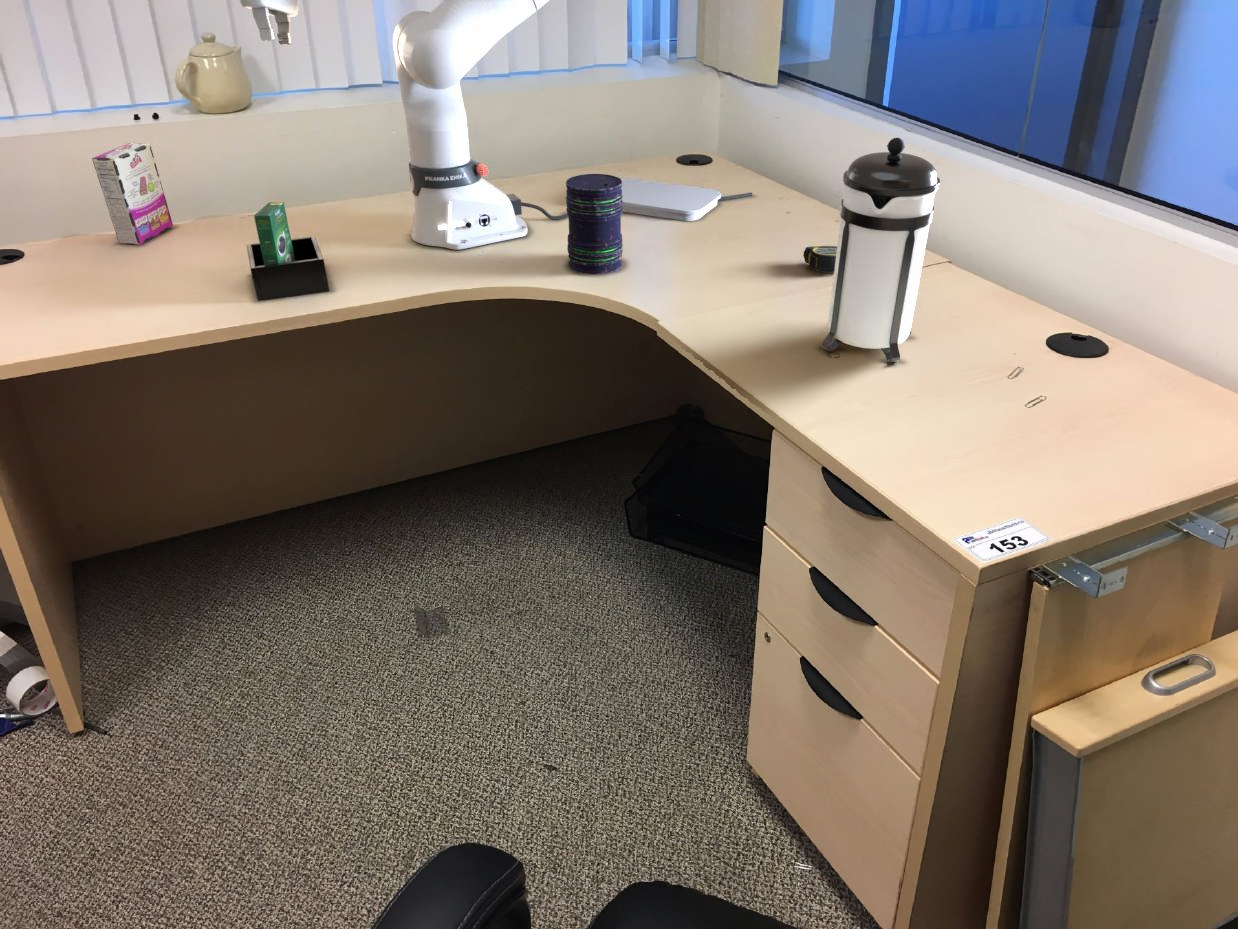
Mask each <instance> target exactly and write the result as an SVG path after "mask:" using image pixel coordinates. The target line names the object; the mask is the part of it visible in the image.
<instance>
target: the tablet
mask: <svg viewBox="0 0 1238 929" xmlns="http://www.w3.org/2000/svg"><path fill="white" fill-rule="evenodd" d="M619 178H620V179H621V180H622V187H621V189H622V196H623V203H622V208H623V210H622V213H630V214H636V215H643V216H651V217H654V218H655V217H656V218H663V219H669V220H670V219H671V220H677V221H684V222H693V221H694V222H695V221H697V220H700V219H701V218H702V217H704V216H705V215H706V214H707V213H709V212H711V210H713V209H714V208H715V207H717V206H718V202H719V201H718V199H720V198H721V197H722V191H720V190H717V189H713V188H706V187H699V186H691V185H683V184H675V183H668V182H662V181H661V182H660V181H653V180H646V179H639V178H630V177H619Z"/></svg>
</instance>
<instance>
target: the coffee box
mask: <svg viewBox="0 0 1238 929" xmlns="http://www.w3.org/2000/svg"><path fill="white" fill-rule="evenodd" d="M253 219H254V223H255V227H256V232H257V236H258V243H260V247H261V252H262V256H263V261H264V265H271V264H279V263H286V262H294V261H295V256H294V251H293V246H292V241H291V239H292V237H291V232H290V227H289V222H288V217H287V212H286V206H285V202H283V201H271V202H268V203H267V204H265V206H263V207H262V208H261V209H260V210H258V211H257V212H256V213H255V214H254V215H253Z"/></svg>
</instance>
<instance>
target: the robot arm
mask: <svg viewBox="0 0 1238 929" xmlns="http://www.w3.org/2000/svg"><path fill="white" fill-rule="evenodd" d="M239 2H240V5H241V6H242V7H243V8H247V9H249V10H251V11H252V12H251V13H252V17H253V19H254V21H255V24H256V26H257V28H258V32H259V38H260V40H261V41H263V42H273V41H275V35H274V29H273V28H272V26H271V21H270V16H273V17H274V20H275V23H276V25H277V33H276V35H277V42H278V44H279V45H282V46H290V45H291V44H292V37H291V25H292V24H291V23H292V22H291V18H293V17H297V16H298V13H299V2H298V0H239ZM548 2H550V0H442V2H440V3H439V4H438V5H437V6H436V7H434V8H433V10H431V11H427V10H416V11H411V12H409V13H406V15H404V16H403V17H402V18H401V19H400V20H399V21H398V23H397V24H396V26H395V28H394V30H393V35H392V48H393V55H394V62H395V67H396V68H395V69H396V74H397V80H398V85H399V92H400V97H401V102H402V108H403V113H404V119H405V126H406V127H405V128H406V132H407V133H406V134H407V135H406V136H407V142H408V150H409V159H410V161H409V162H408V169H409V170H408V176H409V184H410V189H411V193H412V194H413V217H412V228H411V233H410V238H411V239H412V240H413V241H414V242H416V243H418V244H421V245H425V246H429V247H440V248H446V249H450V250H455V251H458V250H459V251H460V250H464V249H469V248H470V249H471V248H474V247H479V246H484V245H488V244H494V243H499V242H504V241H509V240H514V239H518V238H523V237H526V235H528V232H529V230H528V225H527V223H526V222H525V220H524V219H523V218H522V217H520V216H521V215H523V213H522V212H523V211H522V207H525V208H526V207H527V208H531V209H535V210H538V211H539V212H541V213H542V214H543V215H544V216H545V217H547V218H548V219H549V220H553V221H559V220H564V219H567V218H569V216H568V214H567V213H566V214H562V215H551V214H550V213H549V212H548V211H547V210H546V209H544V208H543V207H541V206H539V205H536V204H532V203H529V202H522V200H521V198H520V197H519V196H517V195H516V194H514V193H508V194H505V192H504V191H502V190H501V189H499V188H498V187H497V186H496V185H493V184H492V183H490V182H489V181H487V180H486V179H484V178H483V177H486V176H488V174H489V167H487V165H485V164H484V163H481V162H480V161H478V160H476V159H475V158H473V157H471V152H470V140H469V130H468V129H469V128H468V118H467V112H466V109H465V104H464V99H463V95H462V94H463V93H462V88H461V83H460V81H461V80H462V79H463V78H464V76H465V74H467V73H468V72H469V71H470V70H471V69H472V68H473V67H474V66H475V65H476V64H477V63H479V62H480V60H482V58H483V57H484V56H485V55H486V54H487V53H488V52H489V51H490V50H491V49H492V48H493V47H494V46H495V45H496V44H497V43H498V42H499V41H500V40H501V39H503V38H504V37H505V36H506V35H507V34H509V33H510V32H511V31H512V30H514V29H515V28H516V27H518V26H519V25H520V24H522V23H523V22H525V21H526V20H528V19H529V18H530V17H531V16H532V15H534V14H536V12H538V11H539V10H540V9H542V7H544V6H545V5H546V4H548ZM748 197H753V192H745V193H740V194H734V195H727V196H721V198H720V199H718V201H717V202H721V201H728V200H729V201H730V200H735V199H742V198H748ZM519 215H520V216H519Z"/></svg>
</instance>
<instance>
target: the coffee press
mask: <svg viewBox="0 0 1238 929" xmlns="http://www.w3.org/2000/svg"><path fill="white" fill-rule="evenodd" d="M886 148H887V151H881V152H880V151H879V152H873V153H867V154H864V155H861V156H859V157H857V158H856V159H854V160H853V161H852V162H851V163H850V165H849V166H848V168H847V170H846V171H845V172H844V173H843V176H842V182H843V185H844V190H843V191H844V192H843V198H842V199H841V202H840V208H839V209H840V210H839V216H840V223H839V231H838V239H837V254H836V262H835V269H834V273H833V277H832V278H833V279H832V287H831V295H830V302H829V312H828V320H827V328H828V330H829V331H828V333H827V335H826V337H825V338H824V339H823V340H822V342H821V348H822V349H824V350H825V351H826V352H828V353H832V352H834V350H836V348H837V347H838V346H840V344H842V343H844V344H847V345H850V346H852V347H856V348H860V349H869V350H870V349H871V350H872V349H873V350H879V349H880V350H881V351H882V352H883V354H884V356H885V357H884V358H885V360H886V361H887V363H889V364H890V363H896V362H899V361H900V360H901V354H900V348H899V345H901V344H902V343H904V342H905V341H906V340H907V339H908V338H909V337H910V336H911V334H912V330H911V328H912V323H913V318H914V312H915V307H916V302H917V297H918V291H919V286H920V278H921V274H922V269H923V263H924V258H925V257H924V256H925V251H926V246H927V240H928V235H929V229H930V225H931V224H932V222H933V218H934V217H933V216H934V212H935V211H934V210H935V207H934V201H935V195H936V193H937V191H938V189H939V188H940V184H941V179H940V177H939V176H938V173H937V169H936V168H935V166H934V165H933V164H932V163H931V162H930V161H929V160H926V159H925V158H923V157H920V156H917V155H914V154H910V153H903V151H904V150H905V149H906V145H905V142H904V140H903V139H902V138H900V137H893V138H891V139H890V140H889V141H888V143H887V145H886ZM834 338H835V339H834Z"/></svg>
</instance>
